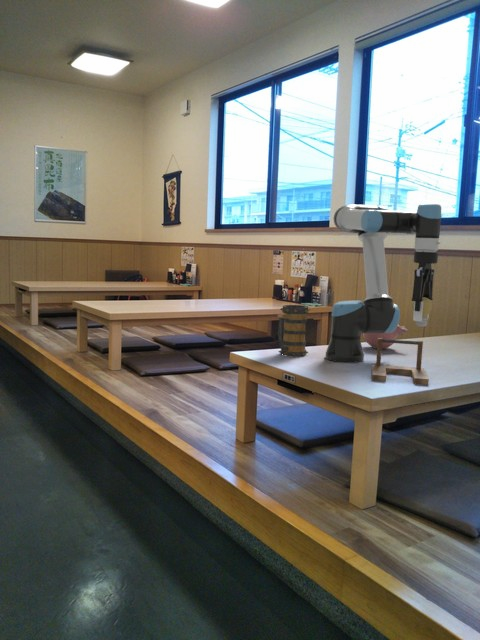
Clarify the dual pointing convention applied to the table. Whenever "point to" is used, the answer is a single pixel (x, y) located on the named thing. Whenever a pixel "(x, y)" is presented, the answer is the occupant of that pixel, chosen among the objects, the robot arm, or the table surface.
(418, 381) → the wooden rack frame
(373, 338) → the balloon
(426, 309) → the light bulb
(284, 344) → the mug
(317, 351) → the table surface
